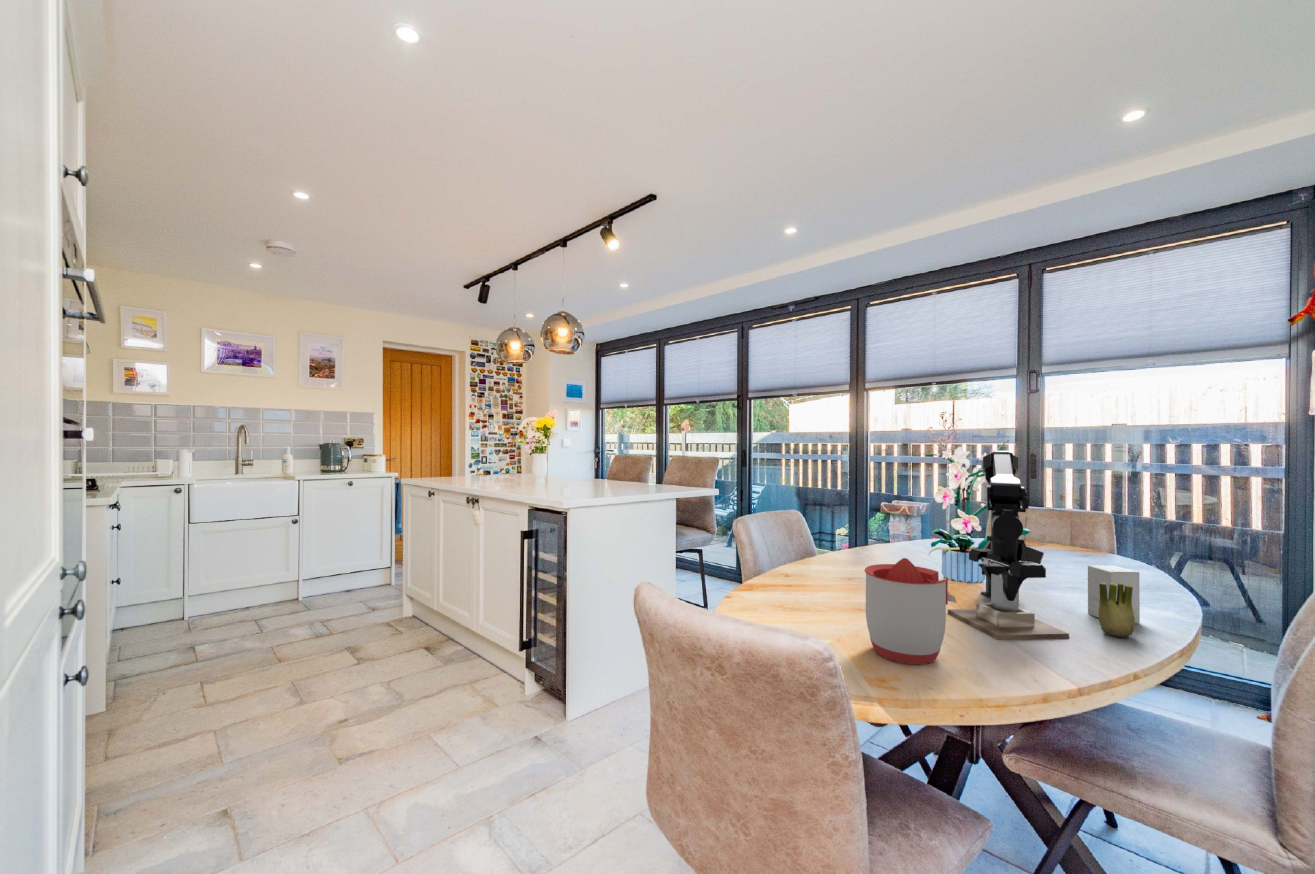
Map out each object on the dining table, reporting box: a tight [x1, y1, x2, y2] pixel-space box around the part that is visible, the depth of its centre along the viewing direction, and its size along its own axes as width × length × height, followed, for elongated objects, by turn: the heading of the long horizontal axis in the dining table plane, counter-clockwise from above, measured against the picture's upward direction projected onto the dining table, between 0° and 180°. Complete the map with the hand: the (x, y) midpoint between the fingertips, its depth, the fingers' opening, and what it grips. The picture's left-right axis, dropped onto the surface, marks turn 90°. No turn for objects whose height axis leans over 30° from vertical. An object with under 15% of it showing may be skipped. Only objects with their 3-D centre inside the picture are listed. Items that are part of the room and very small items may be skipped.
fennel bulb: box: [1098, 583, 1136, 639], centre depth 122 cm, size 6×5×12 cm
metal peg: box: [990, 573, 1020, 611], centre depth 129 cm, size 4×4×8 cm
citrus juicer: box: [864, 557, 957, 665], centre depth 110 cm, size 16×17×20 cm
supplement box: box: [1087, 564, 1141, 624], centre depth 134 cm, size 7×7×13 cm
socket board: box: [947, 602, 1070, 640], centre depth 129 cm, size 18×17×4 cm
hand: (1004, 597), depth 129 cm, fingers closed on metal peg, 4 cm apart
